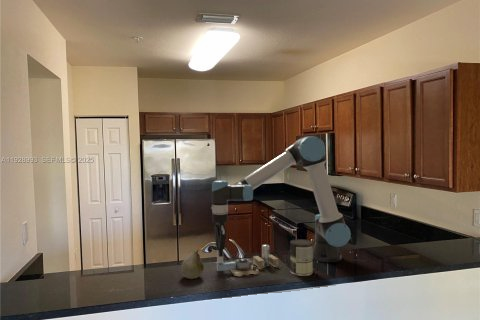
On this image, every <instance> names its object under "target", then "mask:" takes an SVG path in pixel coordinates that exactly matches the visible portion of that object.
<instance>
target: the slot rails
mask: <svg viewBox="0 0 480 320" xmlns="http://www.w3.org/2000/svg"><path fill="white" fill-rule="evenodd" d="M253 264H255V265H256V266H257V267H258V268H259V269H260V270H262V269H261V268H264V269H265V267H264V260H263V259H262V257H260V256H259V255H253V256H252V265H253ZM269 264H271V265H272V266H273V267H276V268H279V258H278V257H276V256H274V255H273V254H269ZM271 265H270V266H271ZM272 266H271V267H272ZM257 267H256V268H257ZM273 267H272V268H273ZM258 268H257V269H258ZM259 269H258V270H259Z"/></svg>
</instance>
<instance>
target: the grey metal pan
mask: <svg viewBox="0 0 480 320" xmlns="http://www.w3.org/2000/svg"><path fill="white" fill-rule="evenodd" d="M252 266H253V260H251V259H249V258H245V257H244V258H243V257H242V258H237V259H235V260H234V261H227V262H223V263H217V262H216V271H218V272H222V271H230V270H233V269H237V270H250V269H251V268H252Z"/></svg>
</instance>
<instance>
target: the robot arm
mask: <svg viewBox="0 0 480 320" xmlns="http://www.w3.org/2000/svg"><path fill="white" fill-rule="evenodd" d="M325 153H326V145H325V143H324V141H323V140H322V139H321V138H320V137H318V136H315V135H309V136H304V137H300V138H299V139H297V140H296V141H295V142H293V144H291V145H290V146H289V147H286V148H285V149H284V152H282V154H279V155H278V156H277V157H275V158H274V159H272V160H270V161H269V162H268V163H266V164H264V165H263V166H261V167H260V168H258V169H256V170H255V171H252V172H251V173H250V174H249V175H247V176H245V177H243V178H242V179H241V180H239V181H236V182H234V184H229V183H228V180H214V181H213V182H212V183H211V207H210V209H211V211H212V214H211V217H212V218H211V221H212V223H215V224H214V227H213V228H214V238H215V239H214V240H215V241H214V242H215V247H216V264H217V263H224V250H225V249H226V235H227V230H226V225H225V223H227V222H228V221H229V214H228V212H229V202H230V201H233V202H234V201H235V202H239V201H240V202H241V201H243V202H244V201H245V202H246V201H252V200H253V198H254V190H255V189H257V188H258V187H260V186H261V185H263V184H265V183H266V182H267V181H269V180H271V179H272V178H274V177H276V176H277V175H278V174H280V173H282V172H283V171H285V170H286V169H289V168H290V167H291V166H293V165H295V166H297V165H298V164H300V163H301V167H302V168H303V169H305V171H307V174H308V178H309V179H308V180H309V183H310V185H311V189H312V193H313V195H314V198H315V201H316V204H317V208H318V211H319V213H318V214H316V215H315V217H314V222H315V223H314V244H313V260H314V261H318V262H323V263H336V262H340V261H341V260H342V259H343V258H342V253H341V249H340V247H343V246H345V245H346V244H348V242H349V240H350V239H351V234H352V233H351V230H350V227H349V226H348V225H347V224H346V222H345V219H344V216H343V213H341V212H339V210H338V207H337V202H336V200H335V196H334V193H333V190H332V187H331V183H330V180H329V176H328V172H327V170H326V166H325V164H326V162H327V158H326V154H325Z"/></svg>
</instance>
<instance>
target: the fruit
mask: <svg viewBox="0 0 480 320" xmlns="http://www.w3.org/2000/svg"><path fill="white" fill-rule="evenodd" d="M204 269H205V265H204V262H203V261H202V259H201V256H200V254H199V249H196V251H194V250H193V251H191V252H190V253H189V254H188V255H187V256H186V258H185V259H184V260H183V261H182V263H181V266H180V272H181V275H182V276H183V277H184V278H186V279H190V280H193V279H198V278H200V276H201V275H202V274H203V272H204Z"/></svg>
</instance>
